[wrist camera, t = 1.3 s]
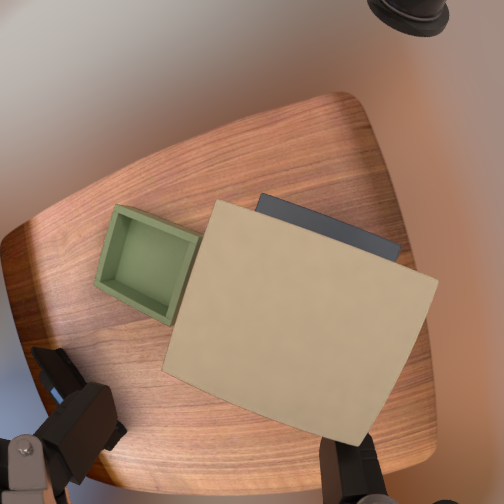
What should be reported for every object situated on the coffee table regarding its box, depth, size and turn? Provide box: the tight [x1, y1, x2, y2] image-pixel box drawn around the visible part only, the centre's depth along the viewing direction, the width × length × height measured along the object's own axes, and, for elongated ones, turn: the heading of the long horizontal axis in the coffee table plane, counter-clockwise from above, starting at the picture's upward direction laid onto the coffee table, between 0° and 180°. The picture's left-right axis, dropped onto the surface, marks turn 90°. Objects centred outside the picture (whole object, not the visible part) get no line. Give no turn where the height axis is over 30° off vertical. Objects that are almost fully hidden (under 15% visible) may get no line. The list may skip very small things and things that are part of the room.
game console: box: [31, 347, 127, 451], centre depth 34 cm, size 16×14×9 cm
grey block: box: [255, 193, 401, 263], centre depth 24 cm, size 8×8×15 cm
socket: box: [94, 204, 204, 327], centre depth 33 cm, size 10×11×4 cm
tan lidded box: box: [162, 199, 439, 447], centre depth 12 cm, size 5×6×9 cm
